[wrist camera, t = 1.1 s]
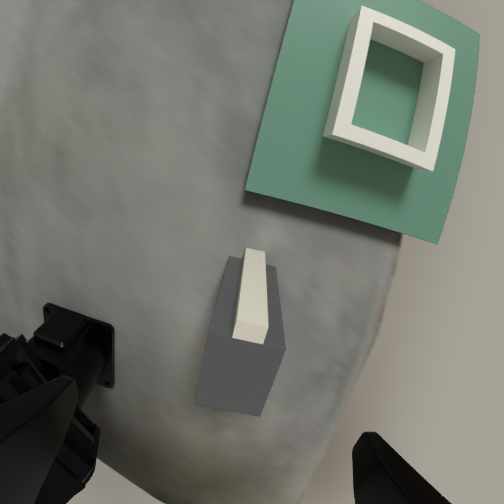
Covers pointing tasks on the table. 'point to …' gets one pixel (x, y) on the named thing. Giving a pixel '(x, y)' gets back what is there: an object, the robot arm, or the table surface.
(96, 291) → the table surface
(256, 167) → the board
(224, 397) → the plug
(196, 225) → the table surface
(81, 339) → the robot arm
